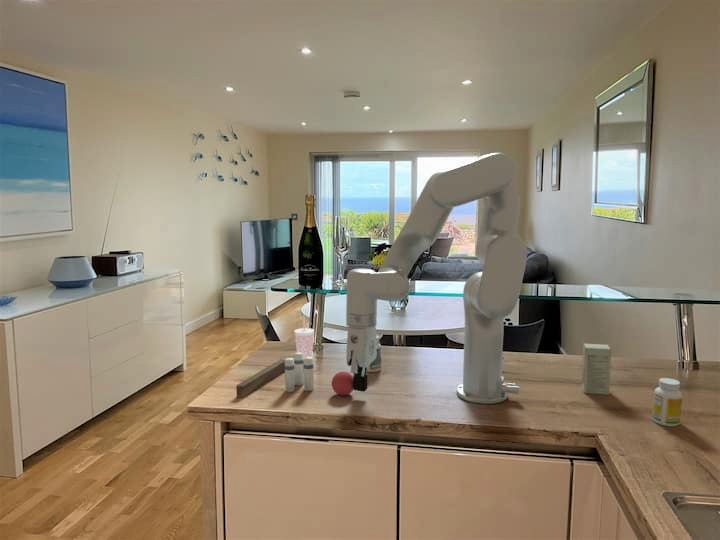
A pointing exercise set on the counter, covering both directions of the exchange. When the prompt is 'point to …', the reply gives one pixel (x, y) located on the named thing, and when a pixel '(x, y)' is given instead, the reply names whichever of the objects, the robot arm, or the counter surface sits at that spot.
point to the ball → (342, 383)
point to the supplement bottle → (667, 402)
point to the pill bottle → (377, 362)
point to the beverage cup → (304, 340)
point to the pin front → (308, 374)
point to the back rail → (260, 378)
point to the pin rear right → (298, 368)
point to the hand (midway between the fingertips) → (360, 389)
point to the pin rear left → (289, 375)
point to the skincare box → (596, 368)
